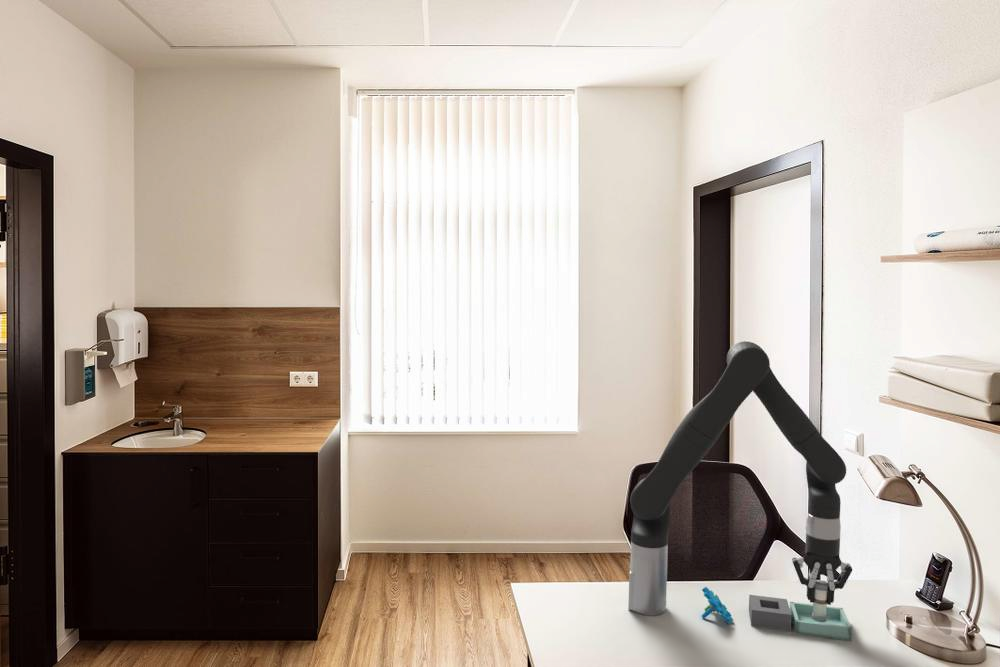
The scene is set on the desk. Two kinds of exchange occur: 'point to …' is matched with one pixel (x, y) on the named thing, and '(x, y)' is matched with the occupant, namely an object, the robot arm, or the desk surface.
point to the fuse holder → (769, 612)
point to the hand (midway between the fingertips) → (820, 602)
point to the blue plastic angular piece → (715, 606)
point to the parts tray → (832, 628)
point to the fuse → (820, 601)
